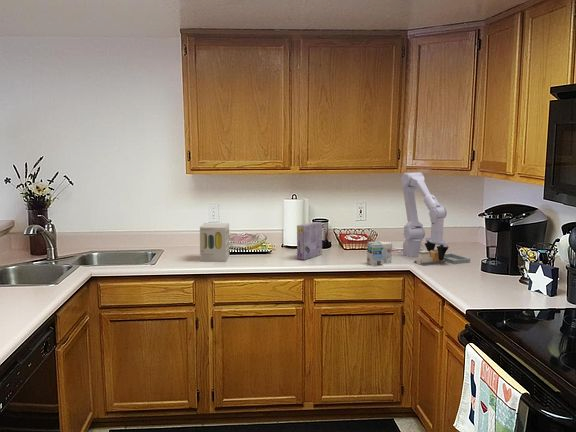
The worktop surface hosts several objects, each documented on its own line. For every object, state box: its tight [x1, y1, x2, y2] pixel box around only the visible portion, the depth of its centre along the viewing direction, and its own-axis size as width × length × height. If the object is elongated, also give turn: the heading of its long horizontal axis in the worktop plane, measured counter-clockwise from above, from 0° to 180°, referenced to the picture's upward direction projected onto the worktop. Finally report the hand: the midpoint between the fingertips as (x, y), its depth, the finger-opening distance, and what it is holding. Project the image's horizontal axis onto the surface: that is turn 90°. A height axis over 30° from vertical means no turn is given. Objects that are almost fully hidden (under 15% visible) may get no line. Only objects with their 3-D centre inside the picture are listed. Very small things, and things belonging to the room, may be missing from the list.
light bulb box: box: [366, 240, 393, 267], centre depth 273 cm, size 11×7×11 cm, turn 105°
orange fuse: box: [430, 248, 439, 262], centre depth 274 cm, size 3×5×6 cm
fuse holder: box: [412, 257, 448, 267], centre depth 273 cm, size 9×14×4 cm, turn 114°
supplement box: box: [199, 222, 230, 263], centre depth 282 cm, size 13×13×18 cm
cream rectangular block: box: [417, 249, 430, 263], centre depth 271 cm, size 3×5×6 cm
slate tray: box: [443, 252, 471, 265], centre depth 278 cm, size 14×10×3 cm
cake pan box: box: [296, 221, 323, 261], centre depth 288 cm, size 19×5×18 cm, turn 146°
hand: (435, 258), depth 274 cm, fingers open, 7 cm apart
